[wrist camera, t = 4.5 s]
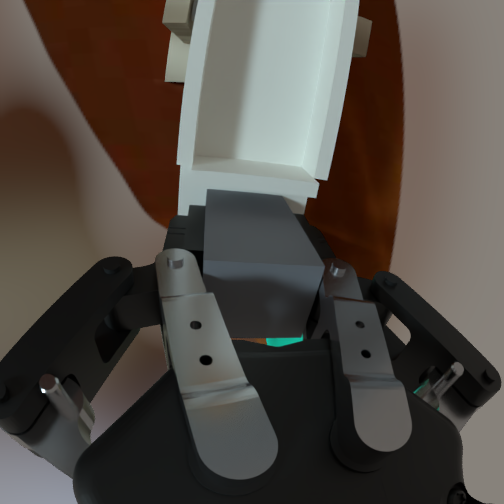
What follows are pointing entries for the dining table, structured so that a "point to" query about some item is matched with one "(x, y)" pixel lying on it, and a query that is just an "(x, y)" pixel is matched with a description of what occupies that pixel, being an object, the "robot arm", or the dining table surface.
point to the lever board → (262, 149)
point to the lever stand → (182, 26)
